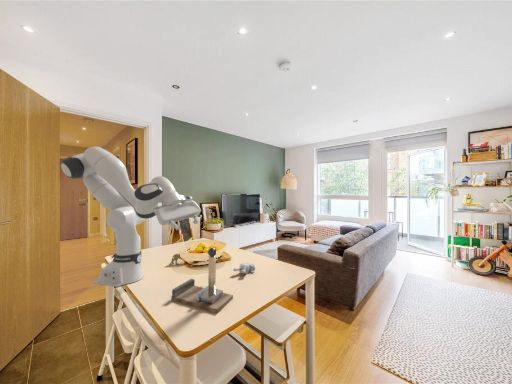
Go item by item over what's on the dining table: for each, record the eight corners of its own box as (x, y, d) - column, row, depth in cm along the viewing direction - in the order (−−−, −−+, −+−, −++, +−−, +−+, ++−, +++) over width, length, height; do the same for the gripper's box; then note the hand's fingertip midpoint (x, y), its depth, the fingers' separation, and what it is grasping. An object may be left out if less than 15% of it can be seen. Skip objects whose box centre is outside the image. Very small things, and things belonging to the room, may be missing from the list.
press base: (171, 299, 88) (171, 289, 88) (190, 287, 99) (190, 278, 99) (217, 313, 78) (217, 301, 78) (232, 298, 89) (233, 288, 89)
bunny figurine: (258, 263, 123) (245, 268, 110) (258, 271, 123) (245, 277, 110) (245, 260, 128) (231, 265, 115) (244, 268, 127) (231, 274, 114)
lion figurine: (192, 260, 138) (192, 247, 138) (193, 262, 133) (194, 249, 133) (168, 264, 131) (169, 250, 131) (169, 266, 126) (170, 252, 126)
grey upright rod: (196, 301, 84) (196, 249, 84) (210, 290, 93) (211, 244, 93) (210, 305, 81) (211, 251, 81) (224, 293, 90) (224, 245, 90)
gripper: (153, 203, 86) (168, 228, 81) (193, 195, 102) (208, 216, 97) (149, 212, 89) (164, 237, 84) (189, 203, 105) (203, 224, 100)
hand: (188, 225), depth 91 cm, fingers open, 8 cm apart
